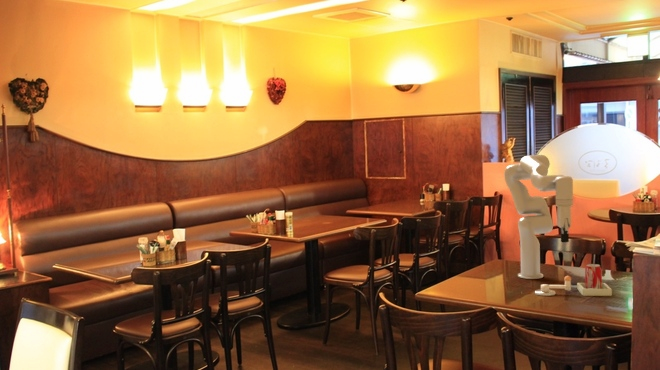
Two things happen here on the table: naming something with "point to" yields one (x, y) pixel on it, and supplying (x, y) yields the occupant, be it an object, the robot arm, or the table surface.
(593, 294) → the tray
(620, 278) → the table surface
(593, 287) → the soda can
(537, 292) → the crank base
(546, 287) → the crank
